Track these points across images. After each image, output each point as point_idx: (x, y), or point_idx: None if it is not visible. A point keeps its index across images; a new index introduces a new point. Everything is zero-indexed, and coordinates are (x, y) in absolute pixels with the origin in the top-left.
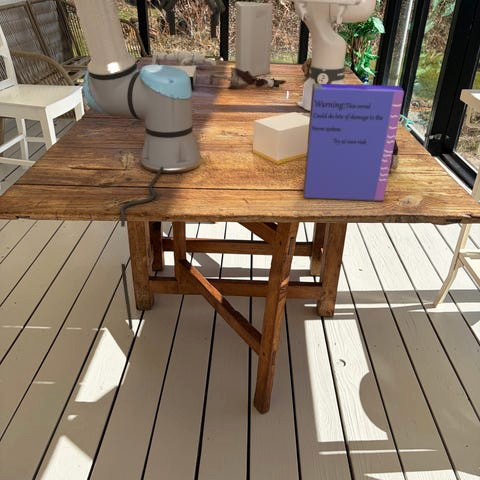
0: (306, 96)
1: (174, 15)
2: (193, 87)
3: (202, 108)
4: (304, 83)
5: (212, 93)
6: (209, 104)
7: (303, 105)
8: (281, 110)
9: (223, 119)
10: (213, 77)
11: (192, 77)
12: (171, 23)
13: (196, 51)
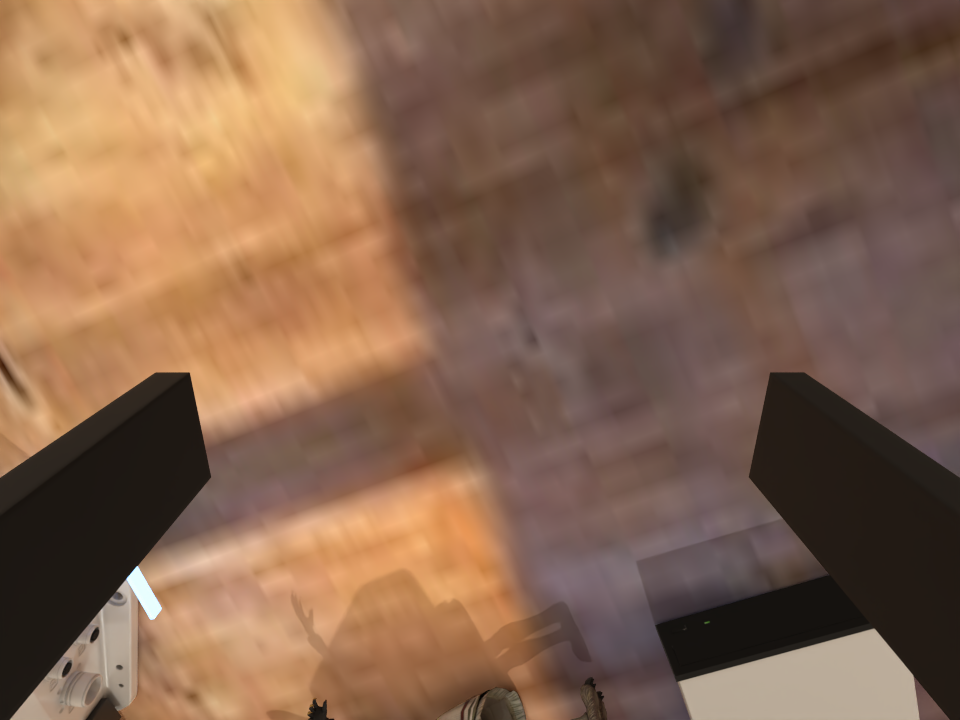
0: None
1: (923, 670)
2: (658, 633)
3: (504, 390)
4: None
5: (555, 611)
6: (499, 459)
7: None
8: None
9: (333, 263)
10: (584, 714)
11: (677, 672)
12: (869, 457)
13: None
